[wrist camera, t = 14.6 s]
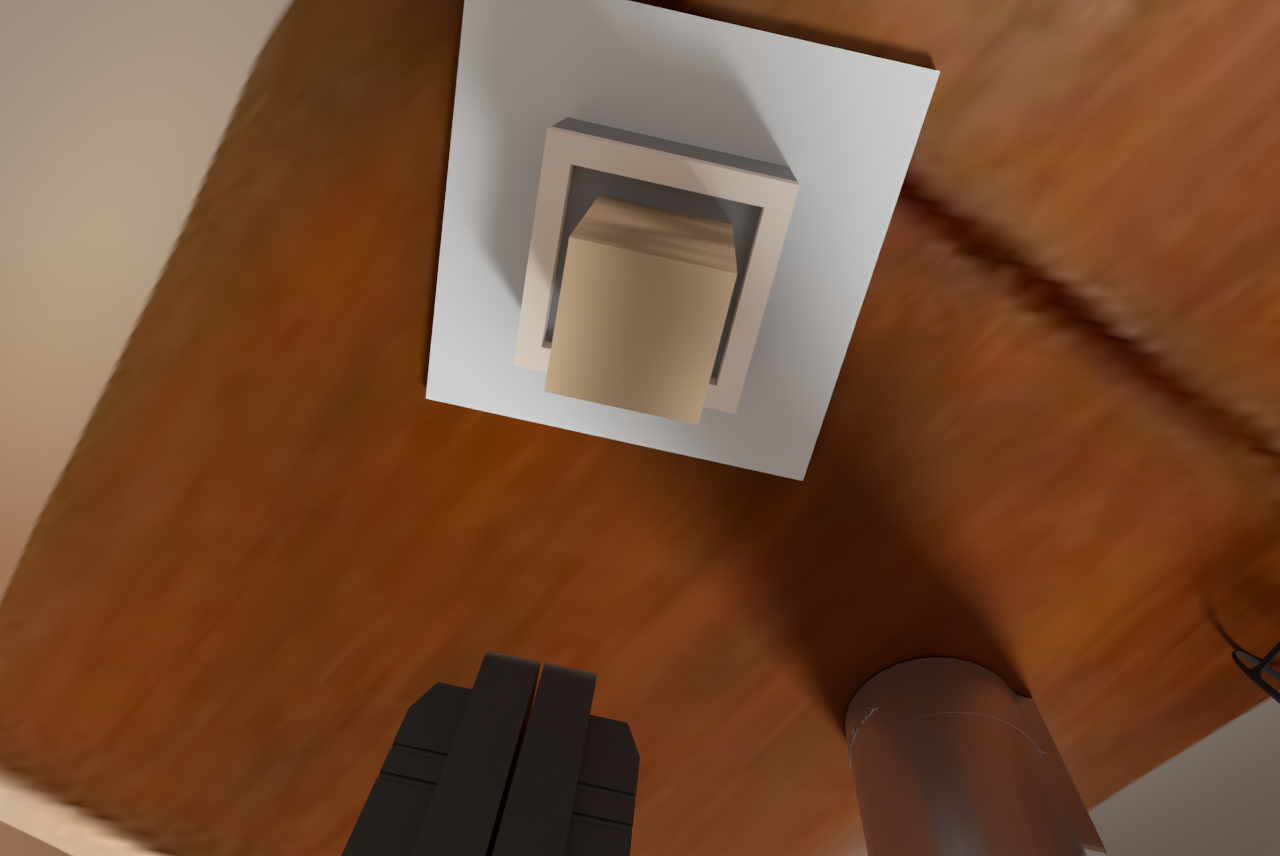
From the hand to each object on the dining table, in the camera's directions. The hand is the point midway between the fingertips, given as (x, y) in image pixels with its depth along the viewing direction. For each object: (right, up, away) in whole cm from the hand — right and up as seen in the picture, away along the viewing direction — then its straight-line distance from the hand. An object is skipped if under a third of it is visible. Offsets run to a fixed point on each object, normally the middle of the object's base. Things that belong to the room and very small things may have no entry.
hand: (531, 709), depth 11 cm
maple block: (+2, +10, +20) cm, 23 cm away
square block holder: (+2, +11, +24) cm, 27 cm away
